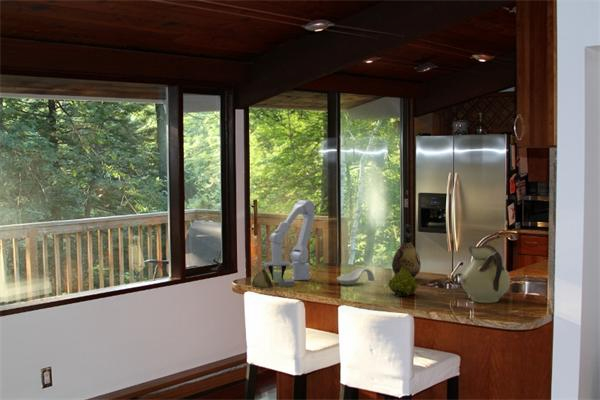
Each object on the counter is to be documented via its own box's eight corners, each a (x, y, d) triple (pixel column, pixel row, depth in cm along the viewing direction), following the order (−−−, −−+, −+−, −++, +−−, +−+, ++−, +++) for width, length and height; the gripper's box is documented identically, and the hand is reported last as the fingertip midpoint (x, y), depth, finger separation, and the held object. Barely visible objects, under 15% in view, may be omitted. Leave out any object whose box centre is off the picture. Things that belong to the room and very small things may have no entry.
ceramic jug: (422, 281, 388) (422, 226, 386) (393, 282, 389) (393, 226, 387) (418, 276, 405) (417, 223, 403) (390, 276, 406) (390, 223, 404)
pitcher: (473, 293, 354) (473, 242, 352) (520, 299, 339) (520, 246, 337) (452, 301, 337) (452, 248, 335) (500, 308, 322) (500, 252, 320)
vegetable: (395, 291, 343) (394, 263, 350) (384, 303, 356) (384, 275, 363) (424, 296, 345) (423, 267, 353) (412, 307, 358) (412, 279, 366)
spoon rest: (348, 287, 378) (347, 273, 377) (332, 284, 386) (332, 271, 386) (379, 281, 393) (378, 268, 393) (363, 278, 402) (363, 266, 401)
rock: (246, 282, 385) (255, 282, 376) (253, 268, 388) (263, 267, 380) (261, 292, 389) (271, 292, 381) (267, 278, 392) (278, 278, 384)
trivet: (293, 284, 390) (293, 278, 390) (294, 286, 382) (294, 281, 382) (278, 284, 390) (278, 279, 390) (279, 287, 382) (279, 281, 382)
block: (281, 281, 398) (281, 270, 397) (281, 282, 393) (281, 271, 393) (273, 281, 397) (273, 270, 397) (273, 283, 393) (273, 272, 392)
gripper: (263, 256, 390) (264, 281, 391) (290, 255, 391) (291, 280, 392) (263, 254, 397) (264, 278, 398) (289, 253, 398) (290, 278, 399)
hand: (277, 279), depth 395 cm, fingers closed on block, 4 cm apart
